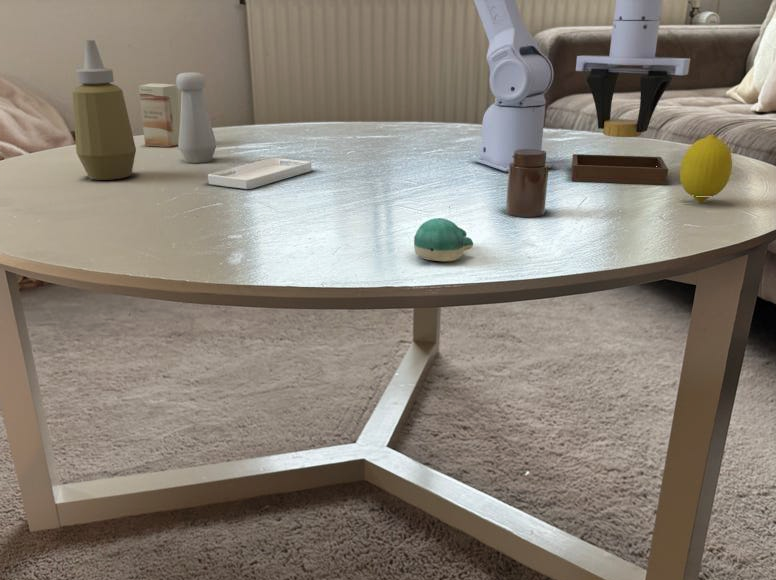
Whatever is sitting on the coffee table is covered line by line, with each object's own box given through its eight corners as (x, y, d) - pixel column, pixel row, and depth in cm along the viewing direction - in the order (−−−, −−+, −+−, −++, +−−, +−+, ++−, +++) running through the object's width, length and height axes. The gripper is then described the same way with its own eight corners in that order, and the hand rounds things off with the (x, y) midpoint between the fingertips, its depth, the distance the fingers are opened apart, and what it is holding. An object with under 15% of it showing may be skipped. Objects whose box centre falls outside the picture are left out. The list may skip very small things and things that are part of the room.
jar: (497, 211, 88) (501, 151, 85) (523, 206, 91) (528, 147, 88) (526, 219, 85) (531, 156, 82) (552, 213, 87) (558, 152, 84)
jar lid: (614, 130, 107) (616, 118, 106) (647, 134, 104) (649, 121, 103) (596, 134, 104) (597, 121, 103) (629, 138, 101) (630, 125, 100)
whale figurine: (401, 261, 71) (401, 221, 70) (427, 241, 77) (428, 204, 76) (460, 268, 69) (462, 227, 67) (482, 247, 75) (485, 209, 74)
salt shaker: (221, 157, 122) (214, 71, 117) (211, 164, 117) (203, 74, 111) (186, 157, 123) (177, 71, 117) (174, 163, 117) (164, 74, 112)
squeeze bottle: (122, 183, 104) (102, 41, 96) (69, 181, 105) (44, 41, 98) (149, 172, 111) (132, 39, 104) (99, 170, 113) (78, 39, 105)
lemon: (694, 209, 88) (707, 139, 85) (665, 199, 93) (676, 132, 90) (734, 206, 90) (748, 136, 86) (704, 196, 95) (716, 130, 91)
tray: (571, 181, 104) (573, 165, 103) (571, 168, 112) (573, 154, 111) (665, 185, 101) (668, 169, 100) (658, 171, 109) (661, 156, 108)
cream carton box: (144, 146, 133) (136, 85, 128) (157, 142, 136) (150, 83, 132) (170, 147, 131) (163, 86, 127) (183, 143, 135) (177, 83, 131)
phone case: (249, 190, 100) (313, 170, 111) (248, 179, 99) (313, 161, 111) (206, 184, 103) (273, 166, 115) (205, 174, 103) (273, 157, 114)
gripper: (704, 20, 97) (686, 130, 102) (595, 20, 105) (584, 122, 111) (686, 21, 92) (668, 136, 97) (573, 21, 100) (563, 127, 106)
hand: (622, 129), depth 104 cm, fingers closed on jar lid, 5 cm apart
